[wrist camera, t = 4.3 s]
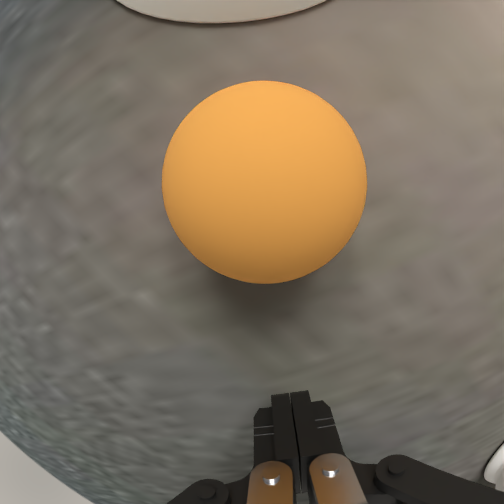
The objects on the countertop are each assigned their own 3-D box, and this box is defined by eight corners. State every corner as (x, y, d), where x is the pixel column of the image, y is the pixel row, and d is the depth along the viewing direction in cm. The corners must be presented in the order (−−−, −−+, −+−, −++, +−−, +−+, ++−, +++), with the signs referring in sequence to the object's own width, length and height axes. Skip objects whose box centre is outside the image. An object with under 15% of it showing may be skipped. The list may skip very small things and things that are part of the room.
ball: (88, 175, 5) (172, 307, 10) (407, 180, 4) (353, 324, 9) (179, 60, 8) (210, 184, 13) (363, 56, 7) (348, 190, 12)
